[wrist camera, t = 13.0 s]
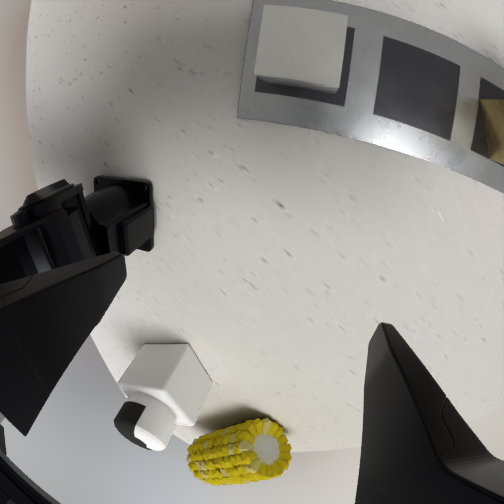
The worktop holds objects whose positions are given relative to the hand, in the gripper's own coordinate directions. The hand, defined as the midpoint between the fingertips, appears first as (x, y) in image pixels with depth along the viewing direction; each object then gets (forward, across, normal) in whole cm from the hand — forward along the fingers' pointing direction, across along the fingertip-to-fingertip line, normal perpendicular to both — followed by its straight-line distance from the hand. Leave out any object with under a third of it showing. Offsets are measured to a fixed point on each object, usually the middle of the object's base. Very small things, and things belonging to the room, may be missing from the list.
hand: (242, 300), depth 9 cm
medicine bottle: (+13, +9, +23) cm, 28 cm away
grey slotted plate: (+13, -8, -10) cm, 19 cm away
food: (+13, -1, +36) cm, 38 cm away
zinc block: (+12, +1, -10) cm, 16 cm away
